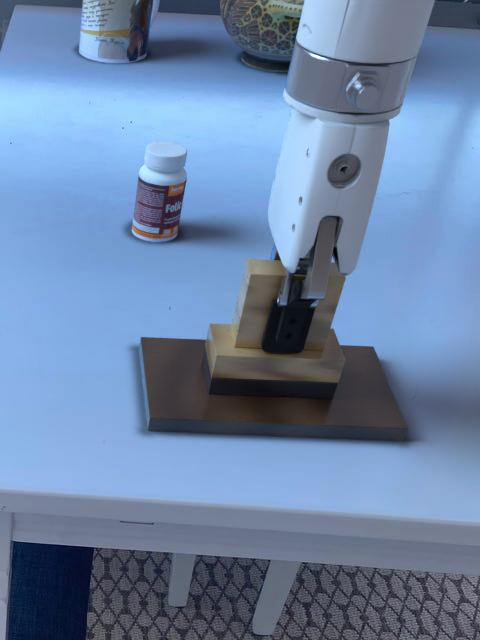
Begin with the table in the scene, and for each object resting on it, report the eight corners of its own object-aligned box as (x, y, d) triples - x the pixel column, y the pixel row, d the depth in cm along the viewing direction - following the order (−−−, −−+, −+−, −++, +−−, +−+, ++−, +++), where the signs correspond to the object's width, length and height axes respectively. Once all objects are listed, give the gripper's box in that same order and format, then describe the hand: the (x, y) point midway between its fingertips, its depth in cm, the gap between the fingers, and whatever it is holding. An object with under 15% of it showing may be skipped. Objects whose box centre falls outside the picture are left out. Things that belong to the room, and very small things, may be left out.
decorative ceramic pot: (213, 55, 145) (206, -61, 134) (333, 25, 141) (336, -96, 131) (236, 114, 128) (230, -12, 118) (372, 82, 125) (379, -51, 114)
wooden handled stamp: (321, 366, 78) (356, 255, 71) (333, 399, 75) (370, 286, 68) (201, 361, 78) (224, 250, 71) (207, 394, 75) (232, 281, 68)
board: (368, 361, 82) (373, 345, 80) (402, 444, 74) (409, 428, 72) (138, 352, 82) (140, 336, 81) (147, 434, 74) (149, 417, 73)
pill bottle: (167, 248, 95) (181, 161, 89) (124, 238, 96) (134, 151, 90) (183, 230, 98) (198, 145, 92) (141, 220, 99) (152, 135, 93)
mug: (73, 42, 139) (79, -49, 131) (152, 41, 140) (163, -49, 132) (84, 65, 132) (92, -29, 124) (168, 64, 133) (181, -29, 125)
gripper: (441, 128, 55) (346, 399, 68) (377, 41, 66) (306, 290, 79) (311, 122, 55) (243, 395, 68) (269, 36, 66) (217, 286, 79)
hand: (278, 337), depth 74 cm, fingers closed
